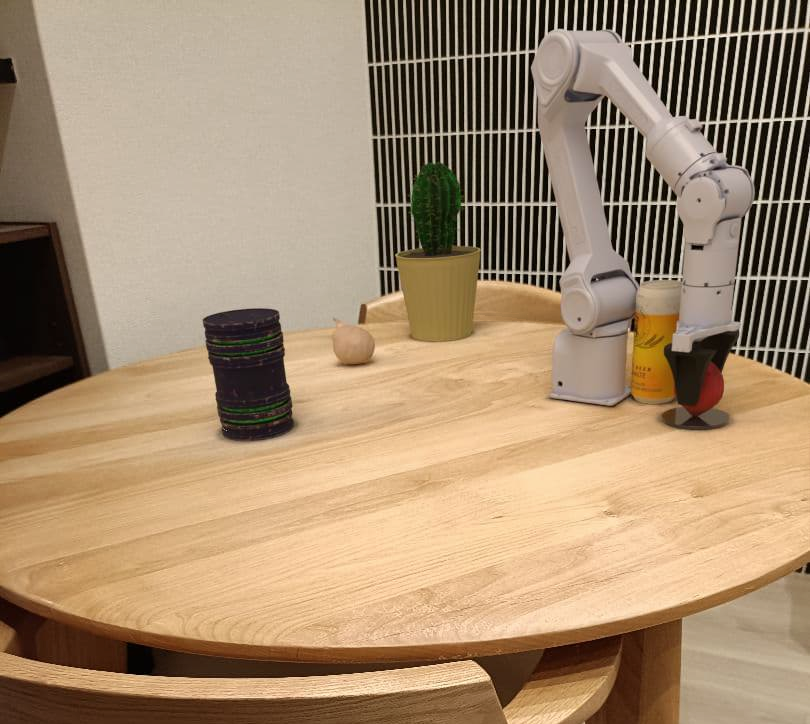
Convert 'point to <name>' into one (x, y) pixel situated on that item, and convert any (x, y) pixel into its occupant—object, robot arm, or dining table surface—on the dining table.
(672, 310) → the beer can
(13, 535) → the dining table surface
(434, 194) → the potted cactus
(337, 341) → the garlic bulb
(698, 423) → the coaster
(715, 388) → the onion
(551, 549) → the dining table surface
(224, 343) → the dark purple cylinder
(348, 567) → the dining table surface
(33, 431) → the dining table surface
